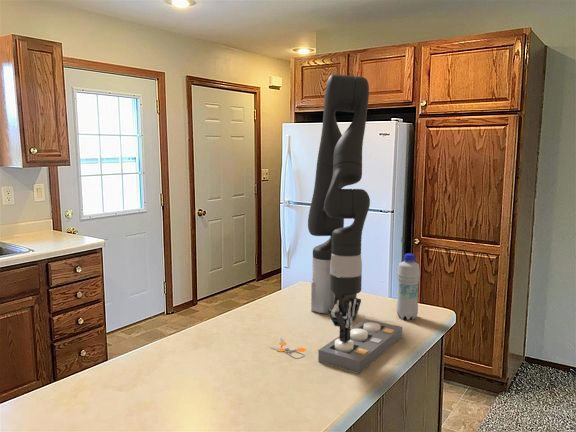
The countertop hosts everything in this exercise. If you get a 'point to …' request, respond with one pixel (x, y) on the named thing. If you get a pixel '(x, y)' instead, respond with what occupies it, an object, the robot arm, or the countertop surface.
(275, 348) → the key chain
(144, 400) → the countertop surface
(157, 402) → the countertop surface
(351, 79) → the robot arm
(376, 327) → the button back
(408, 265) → the bottle
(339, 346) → the button front
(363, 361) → the panel
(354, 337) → the button middle
